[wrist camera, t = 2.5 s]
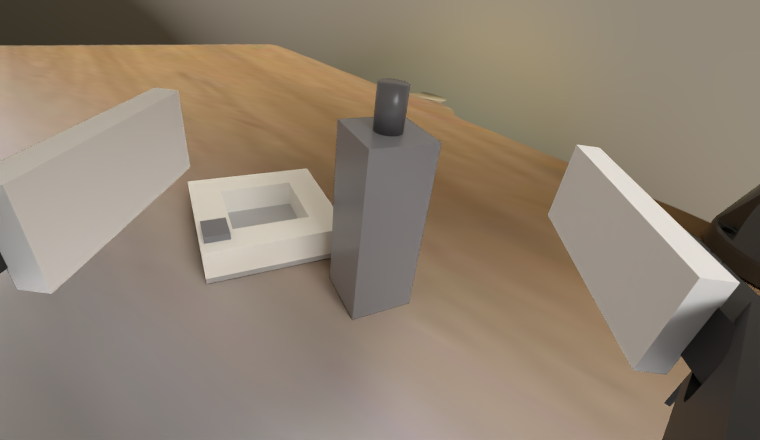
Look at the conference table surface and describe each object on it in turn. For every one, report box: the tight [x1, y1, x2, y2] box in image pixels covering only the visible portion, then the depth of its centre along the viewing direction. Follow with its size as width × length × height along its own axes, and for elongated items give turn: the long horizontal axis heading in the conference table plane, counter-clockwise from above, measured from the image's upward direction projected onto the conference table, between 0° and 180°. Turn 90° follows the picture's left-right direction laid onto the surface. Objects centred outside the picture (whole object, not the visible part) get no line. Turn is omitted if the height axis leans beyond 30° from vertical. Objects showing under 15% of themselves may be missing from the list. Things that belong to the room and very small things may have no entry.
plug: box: [330, 78, 441, 320], centre depth 29 cm, size 5×5×17 cm
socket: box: [188, 168, 333, 284], centre depth 38 cm, size 12×12×4 cm
